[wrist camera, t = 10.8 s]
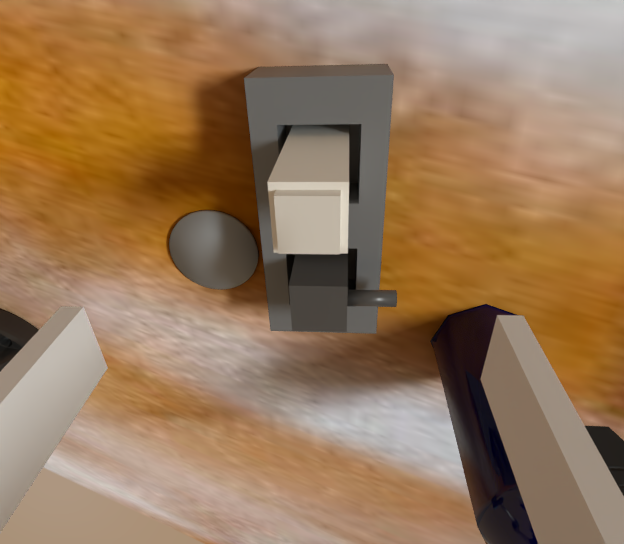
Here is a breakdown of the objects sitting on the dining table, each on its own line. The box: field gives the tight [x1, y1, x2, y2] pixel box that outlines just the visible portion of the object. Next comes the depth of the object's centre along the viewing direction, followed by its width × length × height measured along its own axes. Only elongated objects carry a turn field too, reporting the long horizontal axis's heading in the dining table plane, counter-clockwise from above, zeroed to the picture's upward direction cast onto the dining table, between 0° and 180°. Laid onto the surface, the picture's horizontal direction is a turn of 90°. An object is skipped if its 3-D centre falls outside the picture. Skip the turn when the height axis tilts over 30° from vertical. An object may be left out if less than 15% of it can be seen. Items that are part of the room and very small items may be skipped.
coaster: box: [169, 210, 258, 289], centre depth 38 cm, size 8×8×1 cm
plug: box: [267, 124, 349, 254], centre depth 27 cm, size 4×4×13 cm
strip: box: [244, 64, 397, 334], centre depth 31 cm, size 10×20×9 cm, turn 2°
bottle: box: [431, 304, 538, 544], centre depth 29 cm, size 9×9×30 cm
